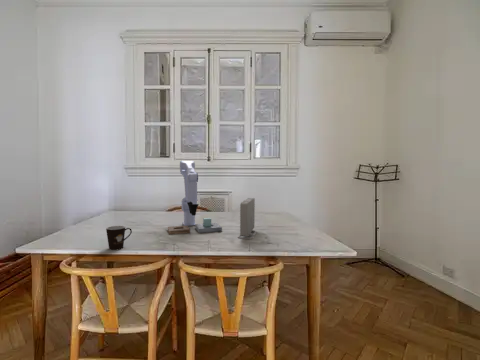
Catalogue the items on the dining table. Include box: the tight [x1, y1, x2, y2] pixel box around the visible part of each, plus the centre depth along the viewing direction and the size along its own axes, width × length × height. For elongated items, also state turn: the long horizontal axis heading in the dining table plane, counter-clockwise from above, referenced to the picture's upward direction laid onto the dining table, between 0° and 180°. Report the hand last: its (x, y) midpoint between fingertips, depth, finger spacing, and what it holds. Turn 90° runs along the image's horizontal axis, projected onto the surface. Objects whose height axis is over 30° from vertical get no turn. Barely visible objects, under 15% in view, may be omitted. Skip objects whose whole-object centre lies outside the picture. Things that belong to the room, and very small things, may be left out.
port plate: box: [194, 222, 223, 234], centre depth 186 cm, size 14×14×2 cm
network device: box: [237, 197, 258, 240], centre depth 173 cm, size 26×9×20 cm, turn 168°
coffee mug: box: [105, 225, 132, 251], centre depth 146 cm, size 12×9×10 cm
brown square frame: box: [167, 225, 191, 235], centre depth 181 cm, size 12×12×2 cm
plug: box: [202, 217, 212, 227], centre depth 186 cm, size 3×4×7 cm
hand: (192, 214), depth 186 cm, fingers open, 7 cm apart
